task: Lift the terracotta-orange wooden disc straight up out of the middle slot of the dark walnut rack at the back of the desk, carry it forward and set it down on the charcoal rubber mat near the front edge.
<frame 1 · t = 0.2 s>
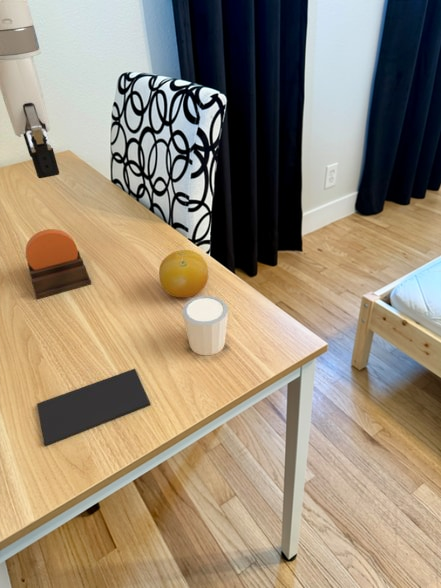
hand: (44, 165, 69), 23 cm above the table, tool pointing down, fingers open, 9 cm apart
shot glass: (207, 343, 68), on the table
mat: (94, 405, 59), on the table
fruit: (185, 292, 79), on the table
disc: (58, 272, 83), point 1 cm above the table, touching rack
rack: (59, 276, 84), on the table
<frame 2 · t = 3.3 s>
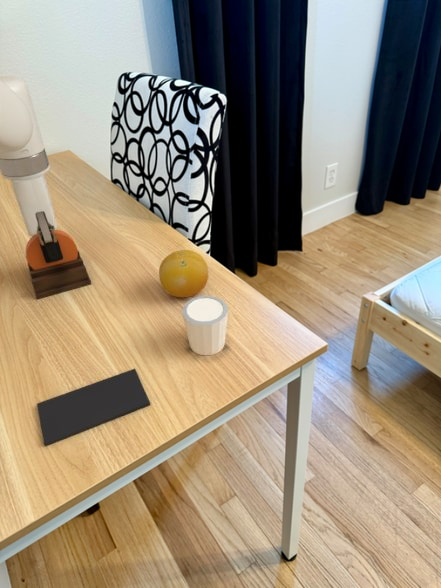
hand: (53, 257, 81), 5 cm above the table, tool pointing down, fingers closed on disc, 1 cm apart
disc: (58, 272, 83), point 1 cm above the table, touching gripper, rack
everything else where it was.
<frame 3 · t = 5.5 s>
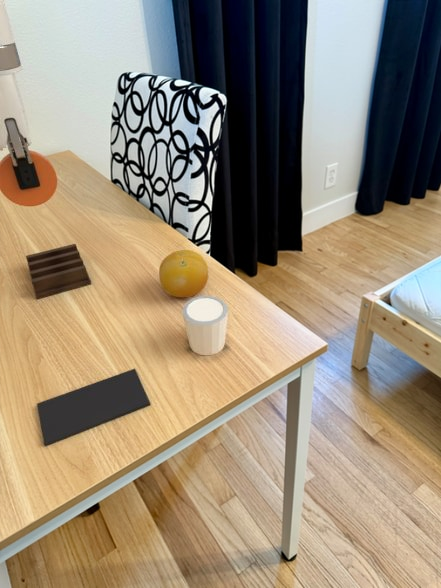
hand: (29, 184, 71), 20 cm above the table, tool pointing down, fingers closed on disc
disc: (35, 204, 73), point 16 cm above the table, touching gripper
everything else where it was.
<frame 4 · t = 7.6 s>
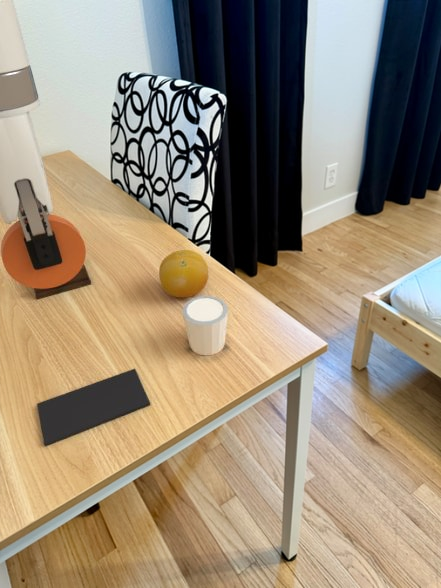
hand: (46, 259, 50), 21 cm above the table, tool pointing down, fingers closed on disc
disc: (54, 283, 52), point 17 cm above the table, touching gripper
everything else where it was.
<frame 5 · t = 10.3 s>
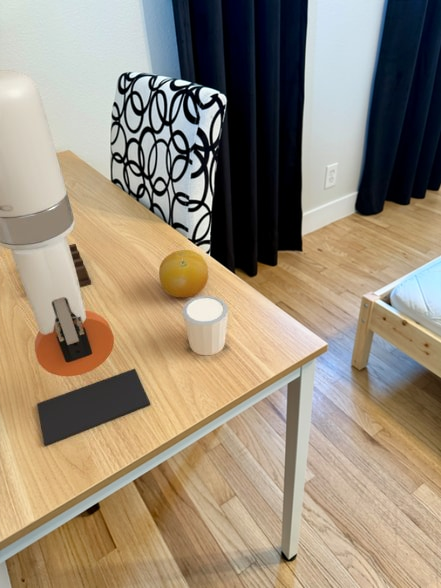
hand: (76, 350, 53), 11 cm above the table, tool pointing down, fingers closed on disc
disc: (84, 369, 55), point 7 cm above the table, touching gripper
everything else where it was.
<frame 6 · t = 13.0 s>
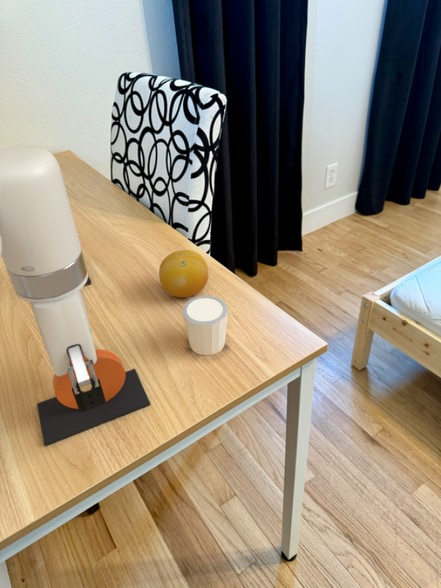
hand: (84, 378, 56), 6 cm above the table, tool pointing down, fingers open, 9 cm apart
disc: (94, 402, 59), point 1 cm above the table, touching mat
everything else where it was.
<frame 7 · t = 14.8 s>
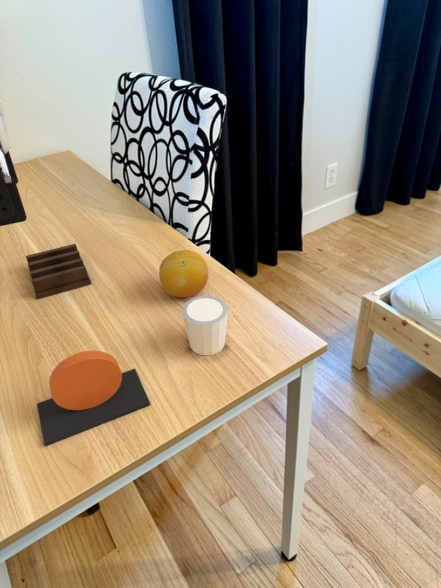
hand: (6, 202, 44), 29 cm above the table, tool pointing down, fingers open, 9 cm apart
nothing on the table moved.
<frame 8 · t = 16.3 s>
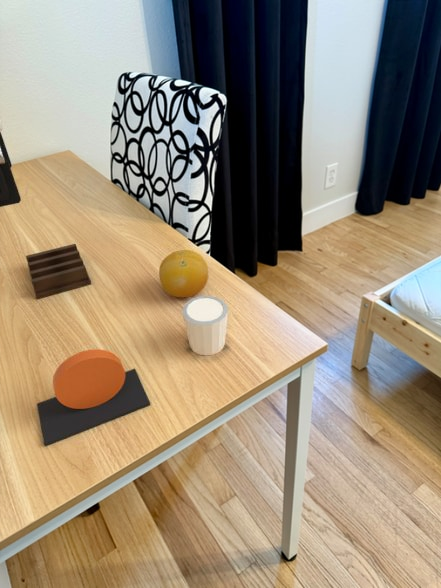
hand: (0, 185, 44), 30 cm above the table, tool pointing down, fingers open, 9 cm apart
nothing on the table moved.
at the end: disc inside the target area on the mat (0.2 cm from its centre), point 0.6 cm above the mat's base; disc moved 34.0 cm from its start; the gripper is holding nothing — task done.
